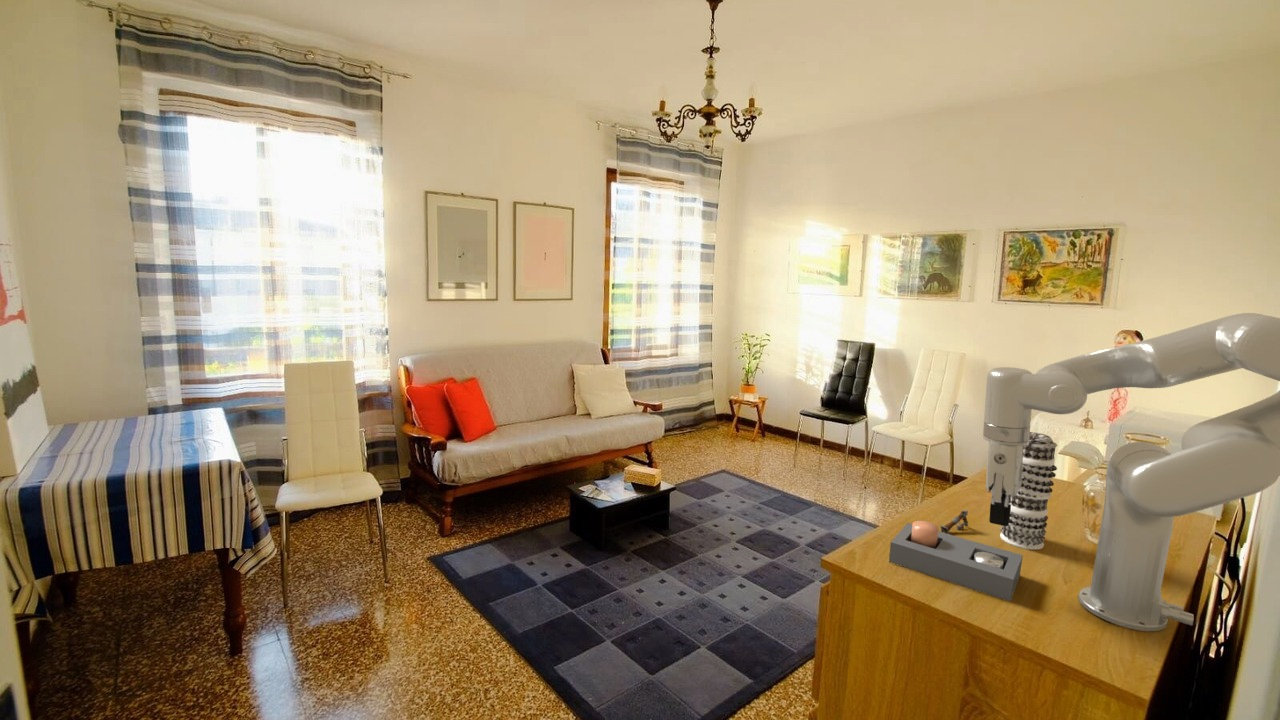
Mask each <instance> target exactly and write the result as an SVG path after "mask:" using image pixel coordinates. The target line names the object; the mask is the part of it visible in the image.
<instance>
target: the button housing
mask: <svg viewBox="0 0 1280 720" xmlns="http://www.w3.org/2000/svg"><path fill="white" fill-rule="evenodd" d="M912 524H913V523H911V522H910V523H909V522H907V523H906V524H905V525H904V526H903V527H902V528H901V529H900V531H898V533H897V534H896V535H895V537H894V538H893V539H892V540H891V541H890V544H889V546H890V547H889V556H888V562H889V563H890V562H892V563H891V564H894V563H895V564H894V565H897V564H898V565H897V566H900V565H901V566H900V567H903V566H904V567H903V568H906V567H907V568H906V569H909V568H910V569H909V570H912V569H913V570H912V571H915V570H916V571H915V572H919V573H922V574H925V575H928V576H931V577H934V578H936V579H938V580H939V579H940V580H944V581H946V582H948V583H949V582H950V583H952V584H955V585H959V586H960V587H965V588H967V589H970V590H973V591H976V592H980V593H983V594H986V595H988V596H992V597H995V598H998V599H1001V600H1005V601H1008V602H1011V601H1012V598H1013V596H1014V594H1015V590H1016V588H1017V584H1018V581H1019V580H1018V579H1020V577H1021V570H1022V563H1023V558H1024V557H1023V556H1024V555H1023V554H1019V553H1016V552H1013V551H1009V550H1006V549H1002V548H999V547H996V546H995V547H994V546H992V545H988V544H984V543H981V542H977V541H973V540H970V539H967V538H963V537H960V536H956V535H952V534H950V533H949V534H948V533H945V532H943V531H938V540H937V548H935V549H934V548H930V547H927V546H924V545H920V544H917V543H914V542H911V534H912ZM977 552H987V553H991V554H994V555H997V556H999V557H1000V558H1002V559H1003V569H1000V568H997V567H994V566H990V565H987V564H984V563H980V562H977V561H974V555H975V553H977Z"/></svg>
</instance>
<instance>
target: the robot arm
mask: <svg viewBox="0 0 1280 720" xmlns="http://www.w3.org/2000/svg"><path fill="white" fill-rule="evenodd" d="M1239 369H1240V370H1241V369H1244V370H1246V371H1250V372H1252V373H1254V374H1256V375H1257V374H1258V375H1260V376H1263V377H1266V378H1269V379H1272V380H1275V381H1278V382H1280V317H1276V316H1272V315H1271V316H1270V315H1266V314H1262V313H1261V314H1260V313H1256V312H1255V313H1254V312H1245V313H1244V312H1242V313H1236V314H1231V315H1227V316H1224V317H1220V318H1217V319H1213V320H1210V321H1207V322H1204V323H1199V324H1197V325H1193V326H1190V327H1187V328H1184V329H1180V330H1176V331H1173V332H1169V333H1167V334H1163V335H1158V336H1155V337H1151V338H1149V339H1144V340H1140V341H1137V342H1130V343H1127V344H1123V345H1122V344H1121V345H1119V346H1115V347H1110V348H1106V349H1101V350H1095V351H1092V352H1087V353H1084V354H1080V355H1077V356H1073V357H1071V358H1067V359H1064V360H1060V361H1057V362H1054V363H1050V364H1048V365H1045V366H1044V367H1042V368H1039V370H1038V371H1036V372H1035V373H1032V372H1031V371H1029V370H1028V369H1025V368H1021V367H1020V368H1019V367H1010V366H1009V367H995V368H991V369H990V370H989V371H988V373H987V375H986V384H985V385H986V386H985V387H986V389H985V405H984V417H983V430H982V431H983V432H982V439H983V440H985V441H987V442H988V451H987V460H986V461H987V462H986V476H985V478H986V479H985V490H986V491H987V492H988V493H991V501H990V507H989V519H988V520H989V523H990V524H993V525H998V526H1001V527H1002V526H1008V525H1009V523H1010V511H1011V505H1010V500H1011V497H1014V496H1016V495H1017V493H1018V491H1019V489H1020V487H1021V485H1022V468H1023V445H1026V444H1028V443H1029V436H1030V432H1031V421H1032V410H1033V411H1039V412H1044V413H1047V414H1048V413H1049V414H1053V415H1069V414H1073V413H1075V412H1077V411H1079V410H1080V409H1082V408H1083V406H1085V405H1086V403H1087V400H1088V395H1090V394H1094V393H1098V392H1102V391H1108V390H1113V389H1114V390H1115V389H1123V388H1139V389H1163V388H1164V389H1165V388H1170V387H1174V386H1178V385H1182V384H1185V383H1189V382H1194V381H1196V380H1201V379H1205V378H1209V377H1212V376H1216V375H1220V374H1224V373H1228V372H1232V371H1236V370H1237V371H1238V370H1239ZM1180 441H1181V443H1180V444H1181V448H1182V450H1179V451H1176V452H1173V453H1171V452H1170V451H1169V450H1167V449H1165V448H1163V447H1162V446H1160V445H1158V444H1154V443H1151V442H1147V441H1146V442H1145V441H1134V442H1133V441H1132V442H1128V443H1126V444H1124V445H1120V446H1119V447H1118V448H1117V449H1116V450H1115V451H1114V452H1113V453H1112V454H1111V455H1110V458H1109V459H1108V462H1107V467H1106V475H1105V476H1106V477H1105V496H1104V504H1103V511H1102V518H1101V523H1100V529H1099V534H1098V540H1097V546H1096V547H1097V548H1096V551H1095V552H1096V553H1095V559H1094V566H1093V571H1092V577H1091V584H1090V586H1086V587H1083V588H1082V589H1080V591H1078V601H1079V602H1080V604H1081V605H1082V606H1083V608H1084V609H1086V610H1087V611H1089V612H1090V613H1091V614H1093V615H1095V616H1096V617H1098V618H1100V619H1103V620H1104V621H1106V622H1110V623H1111V624H1114V625H1116V626H1120V627H1122V628H1126V629H1131V630H1136V631H1142V632H1159V631H1162V630H1164V629H1165V628H1166V627H1167V625H1168V619H1171V620H1174V621H1177V622H1179V623H1182V624H1185V625H1189V626H1193V625H1194V618H1195V616H1194V614H1193V613H1190V612H1188V611H1184V606H1182V605H1178V604H1175V603H1170V602H1166V599H1163V597H1162V596H1163V593H1162V591H1161V590H1162V586H1163V581H1164V574H1165V570H1166V564H1167V558H1168V554H1169V553H1168V552H1169V547H1170V543H1171V540H1172V534H1173V529H1174V520H1175V517H1180V516H1181V517H1182V516H1186V515H1189V514H1195V513H1196V512H1199V511H1200V512H1201V511H1204V510H1208V509H1210V508H1214V507H1217V506H1221V505H1224V504H1228V503H1231V502H1233V501H1236V500H1240V499H1244V498H1246V497H1249V496H1253V495H1256V494H1258V493H1260V492H1263V491H1264V490H1266V489H1268V488H1270V487H1271V486H1272V485H1274V484H1275V483H1276V482H1277V481H1278V480H1279V479H1278V477H1279V476H1280V390H1278V391H1276V393H1273V394H1272V395H1270V396H1268V397H1266V398H1264V399H1261V400H1259V401H1257V402H1254V403H1252V404H1249V405H1246V406H1244V407H1241V408H1238V409H1235V410H1232V411H1230V412H1226V413H1224V414H1221V415H1218V416H1216V417H1213V418H1210V419H1207V420H1203V421H1201V422H1198V423H1196V424H1194V425H1192V426H1191V427H1189V428H1187V430H1186V431H1185V432H1184V433H1183V434H1182V437H1181V440H1180ZM1277 479H1278V480H1277Z"/></svg>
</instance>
